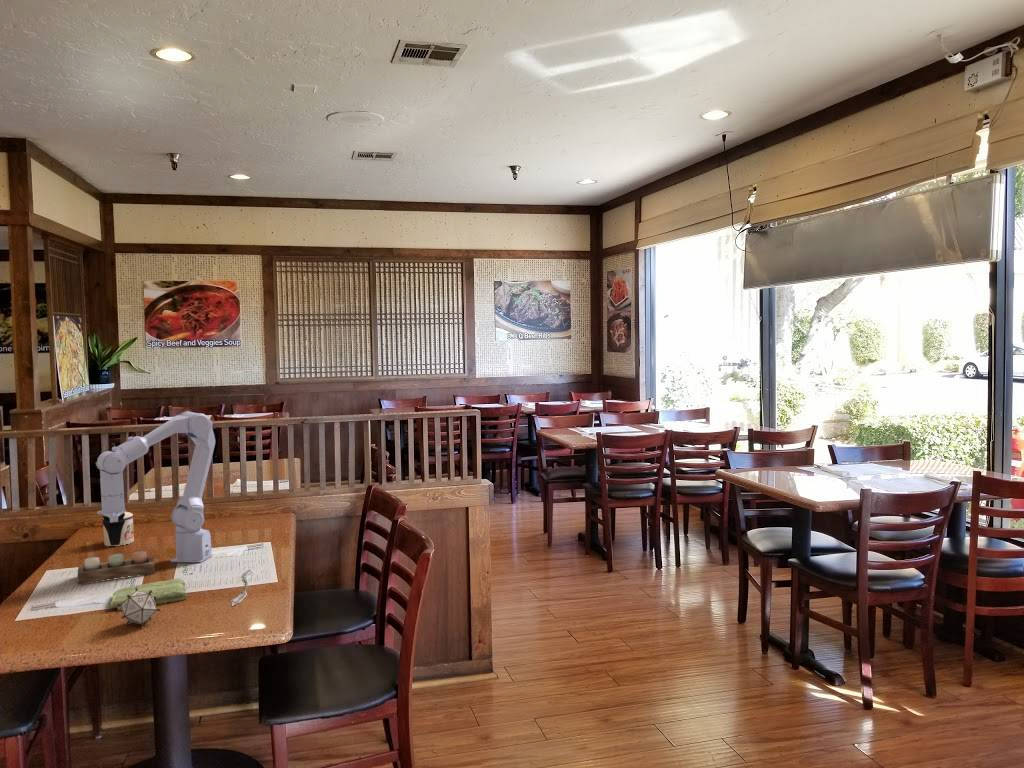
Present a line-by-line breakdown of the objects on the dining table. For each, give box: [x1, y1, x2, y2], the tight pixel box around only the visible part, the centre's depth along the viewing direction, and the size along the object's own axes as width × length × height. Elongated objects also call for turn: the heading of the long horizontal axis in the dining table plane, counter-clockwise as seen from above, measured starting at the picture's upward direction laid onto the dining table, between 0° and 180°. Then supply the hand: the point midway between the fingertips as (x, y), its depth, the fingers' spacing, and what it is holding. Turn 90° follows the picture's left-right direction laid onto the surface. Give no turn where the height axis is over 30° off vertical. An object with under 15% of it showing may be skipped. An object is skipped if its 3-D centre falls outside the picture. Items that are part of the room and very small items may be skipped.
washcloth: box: [109, 577, 188, 611], centre depth 202 cm, size 13×18×3 cm
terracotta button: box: [132, 550, 148, 563], centre depth 225 cm, size 4×4×2 cm
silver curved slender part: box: [230, 568, 255, 607], centre depth 211 cm, size 32×1×5 cm
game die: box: [117, 588, 162, 627], centre depth 185 cm, size 9×8×10 cm
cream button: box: [84, 556, 100, 570], centre depth 219 cm, size 4×4×2 cm
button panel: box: [77, 555, 156, 585], centre depth 222 cm, size 19×8×3 cm, turn 117°
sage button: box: [108, 553, 124, 567], centre depth 222 cm, size 4×4×2 cm
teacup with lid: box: [101, 511, 135, 547], centre depth 256 cm, size 12×9×12 cm
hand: (115, 542), depth 222 cm, fingers open, 6 cm apart
